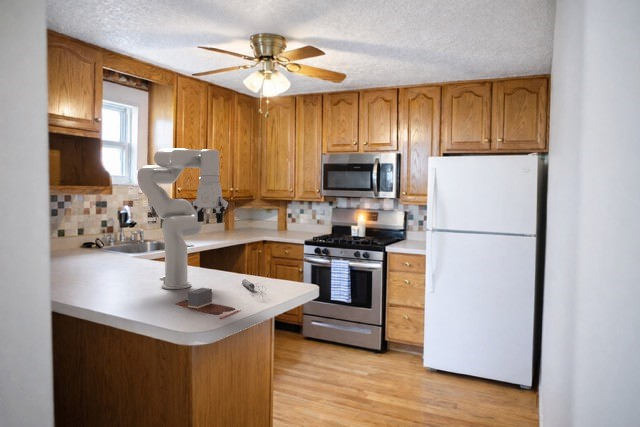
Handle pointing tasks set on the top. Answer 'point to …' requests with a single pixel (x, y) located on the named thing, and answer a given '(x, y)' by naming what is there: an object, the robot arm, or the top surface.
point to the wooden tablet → (208, 308)
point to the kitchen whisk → (251, 286)
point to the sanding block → (199, 297)
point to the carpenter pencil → (230, 314)
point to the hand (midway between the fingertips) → (210, 222)
